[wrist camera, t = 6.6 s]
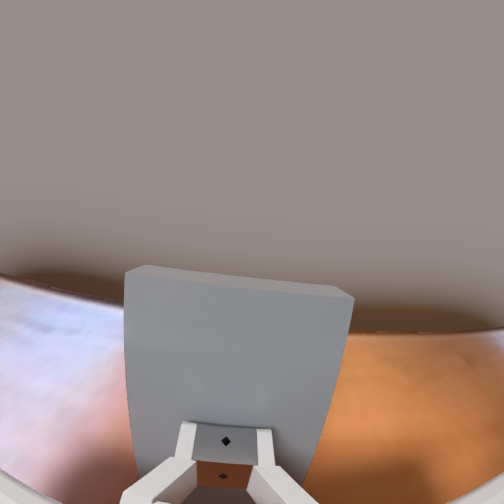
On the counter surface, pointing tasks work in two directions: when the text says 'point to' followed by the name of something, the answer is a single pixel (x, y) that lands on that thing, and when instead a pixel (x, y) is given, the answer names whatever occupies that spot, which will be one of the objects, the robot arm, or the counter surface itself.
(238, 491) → the grey upright panel
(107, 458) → the counter surface
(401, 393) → the counter surface
